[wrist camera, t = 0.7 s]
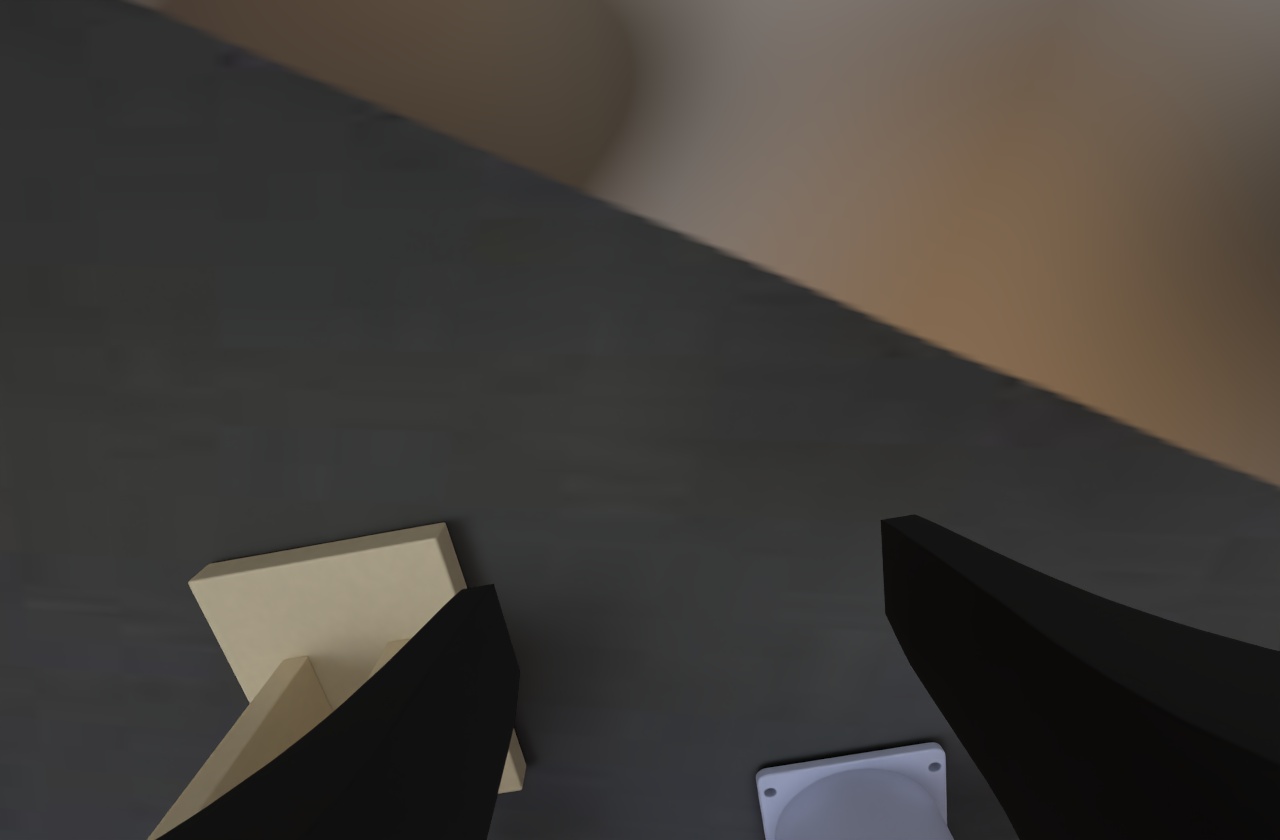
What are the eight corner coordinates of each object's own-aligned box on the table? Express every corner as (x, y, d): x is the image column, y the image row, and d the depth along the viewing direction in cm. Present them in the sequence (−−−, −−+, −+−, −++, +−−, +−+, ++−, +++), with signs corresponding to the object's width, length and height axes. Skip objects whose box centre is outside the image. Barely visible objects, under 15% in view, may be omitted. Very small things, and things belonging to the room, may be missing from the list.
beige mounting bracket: (527, 765, 26) (475, 1058, 17) (324, 797, 26) (169, 1101, 17) (446, 520, 22) (322, 736, 13) (208, 562, 22) (-72, 800, 13)
